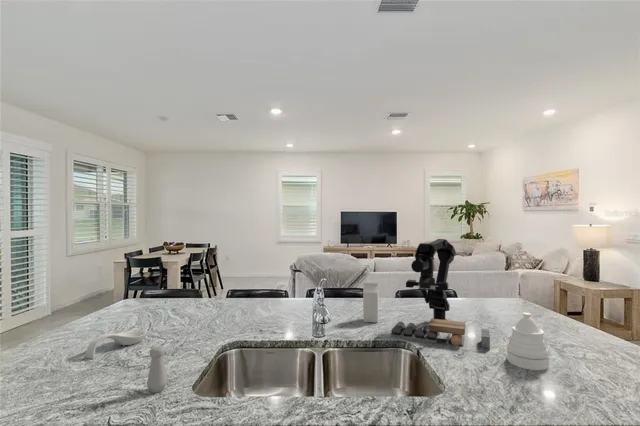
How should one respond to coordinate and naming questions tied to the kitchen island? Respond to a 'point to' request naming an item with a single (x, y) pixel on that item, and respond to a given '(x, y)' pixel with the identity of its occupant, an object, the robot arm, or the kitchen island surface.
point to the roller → (456, 339)
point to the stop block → (485, 339)
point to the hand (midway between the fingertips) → (427, 303)
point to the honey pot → (527, 345)
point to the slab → (447, 326)
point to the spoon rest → (120, 338)
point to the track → (417, 333)
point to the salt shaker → (157, 370)
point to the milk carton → (370, 302)
